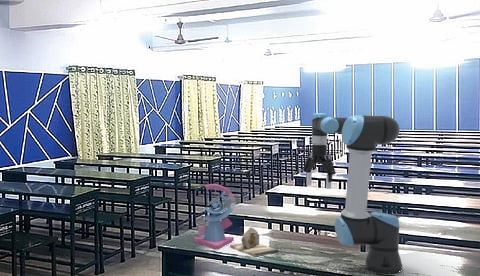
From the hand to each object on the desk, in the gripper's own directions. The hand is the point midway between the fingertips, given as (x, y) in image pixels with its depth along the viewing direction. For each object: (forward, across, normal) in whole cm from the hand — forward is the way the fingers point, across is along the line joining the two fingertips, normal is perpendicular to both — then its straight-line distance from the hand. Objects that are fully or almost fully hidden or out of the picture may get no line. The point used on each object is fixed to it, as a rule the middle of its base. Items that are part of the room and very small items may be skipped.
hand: (318, 187), depth 253 cm
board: (+29, +9, +33) cm, 45 cm away
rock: (+28, +12, +34) cm, 46 cm away
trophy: (+29, +30, +42) cm, 59 cm away
